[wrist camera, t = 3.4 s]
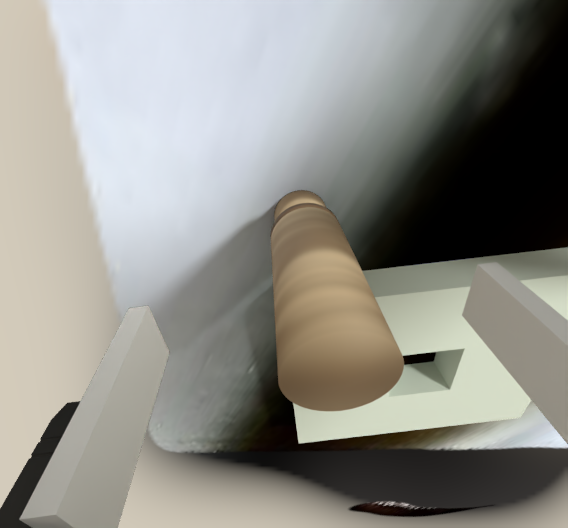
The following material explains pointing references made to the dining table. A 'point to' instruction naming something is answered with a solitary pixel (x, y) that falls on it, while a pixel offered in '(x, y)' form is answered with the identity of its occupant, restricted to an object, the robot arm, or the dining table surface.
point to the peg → (326, 313)
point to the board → (441, 349)
